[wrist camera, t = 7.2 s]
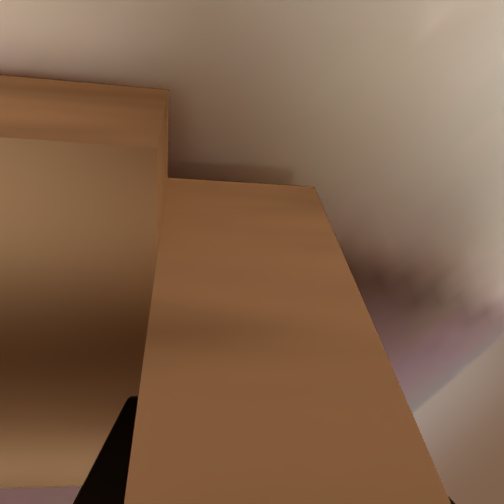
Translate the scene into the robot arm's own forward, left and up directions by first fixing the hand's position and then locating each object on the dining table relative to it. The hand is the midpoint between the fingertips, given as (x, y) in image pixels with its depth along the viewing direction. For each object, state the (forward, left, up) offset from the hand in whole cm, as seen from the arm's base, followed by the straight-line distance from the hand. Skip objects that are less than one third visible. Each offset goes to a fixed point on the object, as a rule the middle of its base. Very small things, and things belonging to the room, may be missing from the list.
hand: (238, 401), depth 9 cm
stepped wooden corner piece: (0, +2, -4) cm, 5 cm away
